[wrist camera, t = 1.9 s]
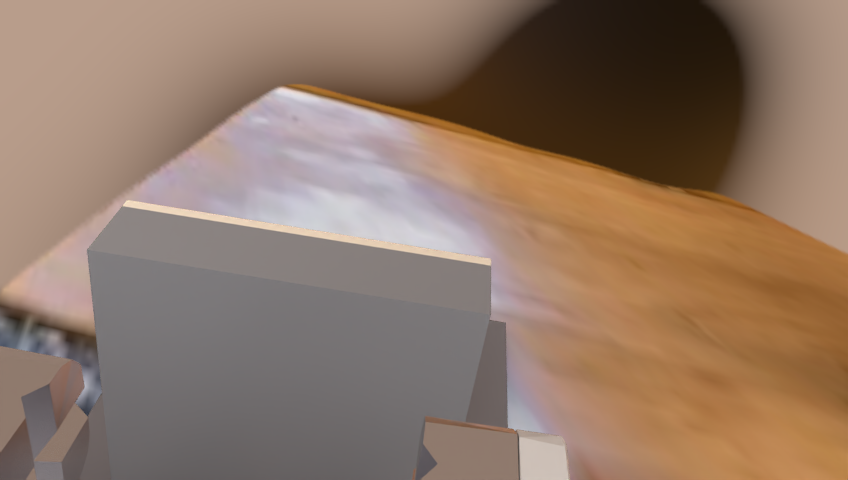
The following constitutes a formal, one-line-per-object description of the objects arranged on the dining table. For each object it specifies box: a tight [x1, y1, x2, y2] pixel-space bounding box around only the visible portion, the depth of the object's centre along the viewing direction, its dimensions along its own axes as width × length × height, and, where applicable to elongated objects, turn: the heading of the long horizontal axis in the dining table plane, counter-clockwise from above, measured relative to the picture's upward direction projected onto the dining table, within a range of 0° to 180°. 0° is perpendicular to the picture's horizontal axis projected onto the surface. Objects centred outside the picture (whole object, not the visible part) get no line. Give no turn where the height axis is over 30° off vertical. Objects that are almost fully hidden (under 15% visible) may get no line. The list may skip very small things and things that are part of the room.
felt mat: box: [80, 320, 508, 480], centre depth 35 cm, size 18×18×1 cm
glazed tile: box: [87, 200, 491, 480], centre depth 28 cm, size 12×3×12 cm, turn 86°
